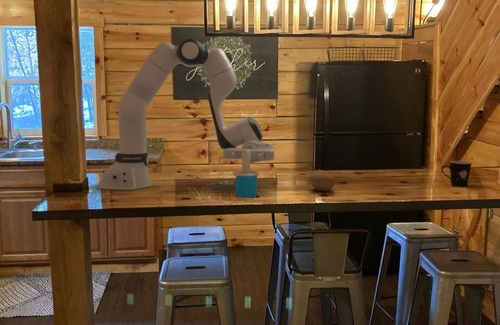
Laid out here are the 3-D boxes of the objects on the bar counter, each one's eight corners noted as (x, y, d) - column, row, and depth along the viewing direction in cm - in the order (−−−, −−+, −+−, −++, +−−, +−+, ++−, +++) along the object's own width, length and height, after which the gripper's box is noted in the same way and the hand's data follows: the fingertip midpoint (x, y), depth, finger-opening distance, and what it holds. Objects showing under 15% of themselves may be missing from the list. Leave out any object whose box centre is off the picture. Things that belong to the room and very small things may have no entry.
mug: (257, 198, 201) (257, 177, 200) (236, 198, 200) (236, 177, 199) (256, 191, 213) (256, 171, 211) (235, 192, 212) (235, 171, 211)
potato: (314, 194, 207) (315, 174, 206) (306, 187, 221) (307, 168, 219) (339, 194, 208) (339, 174, 207) (329, 187, 222) (330, 168, 221)
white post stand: (233, 176, 200) (233, 151, 199) (233, 172, 210) (233, 148, 209) (259, 176, 201) (259, 151, 199) (258, 172, 211) (258, 148, 209)
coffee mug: (470, 184, 228) (472, 161, 227) (469, 188, 221) (471, 164, 219) (442, 182, 233) (443, 159, 232) (440, 185, 225) (441, 162, 224)
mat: (211, 191, 213) (211, 190, 213) (212, 185, 225) (212, 184, 225) (246, 191, 213) (246, 190, 213) (245, 185, 225) (245, 184, 225)
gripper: (226, 143, 218) (219, 147, 205) (275, 144, 215) (272, 148, 202) (226, 158, 219) (219, 163, 206) (275, 160, 216) (272, 165, 203)
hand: (246, 156), depth 204 cm, fingers open, 8 cm apart
